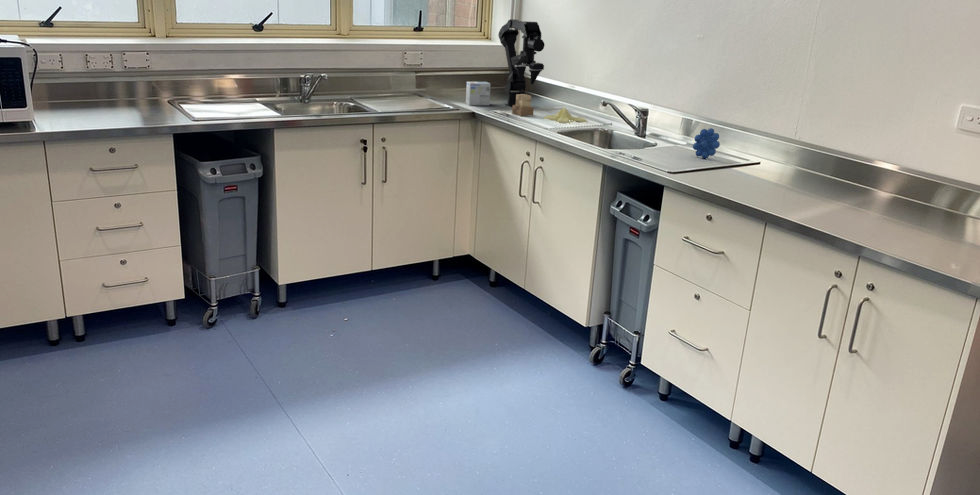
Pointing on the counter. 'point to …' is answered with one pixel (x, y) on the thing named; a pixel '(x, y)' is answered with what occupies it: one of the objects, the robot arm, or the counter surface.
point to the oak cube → (523, 100)
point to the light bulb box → (478, 93)
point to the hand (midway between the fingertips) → (526, 82)
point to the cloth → (564, 117)
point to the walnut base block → (522, 110)
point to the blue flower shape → (706, 143)
